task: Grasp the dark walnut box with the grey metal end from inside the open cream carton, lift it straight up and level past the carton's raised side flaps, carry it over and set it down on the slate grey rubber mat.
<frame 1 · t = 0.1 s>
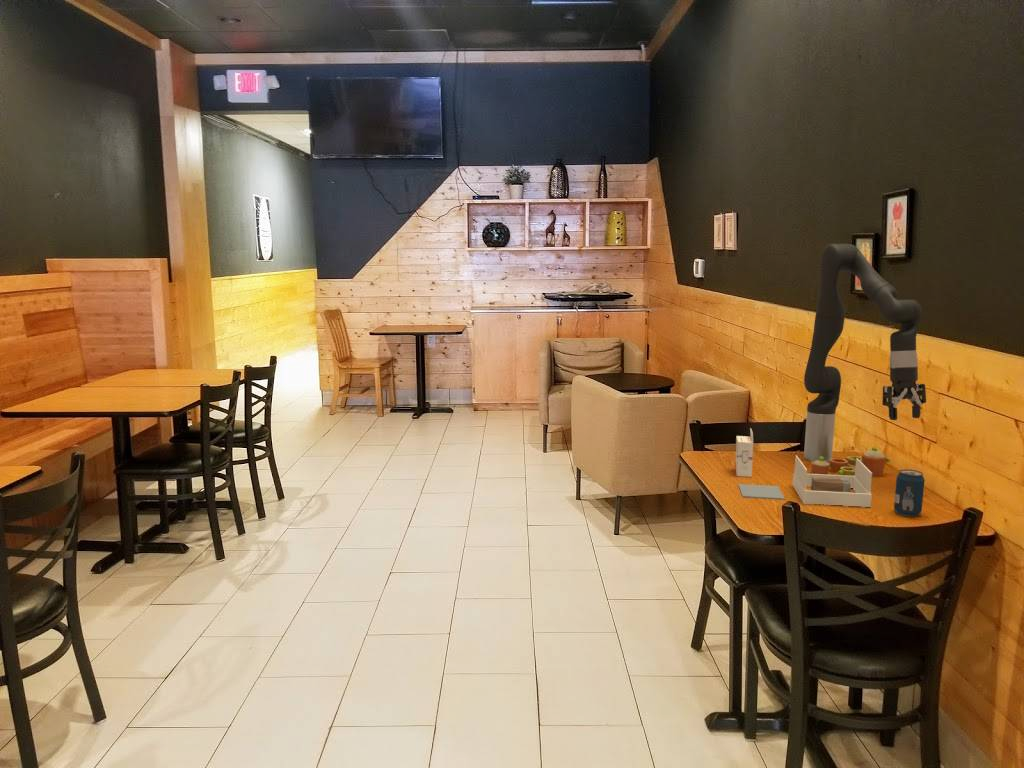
hand: (904, 418, 229), 22 cm above the table, tool pointing down, fingers open, 8 cm apart
carton: (829, 495, 226), on the table
ink cartridge box: (742, 473, 250), on the table
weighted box: (829, 496, 226), resting in carton
toy tea set: (847, 475, 249), on the table
mat: (760, 492, 230), on the table
soda can: (907, 513, 212), on the table
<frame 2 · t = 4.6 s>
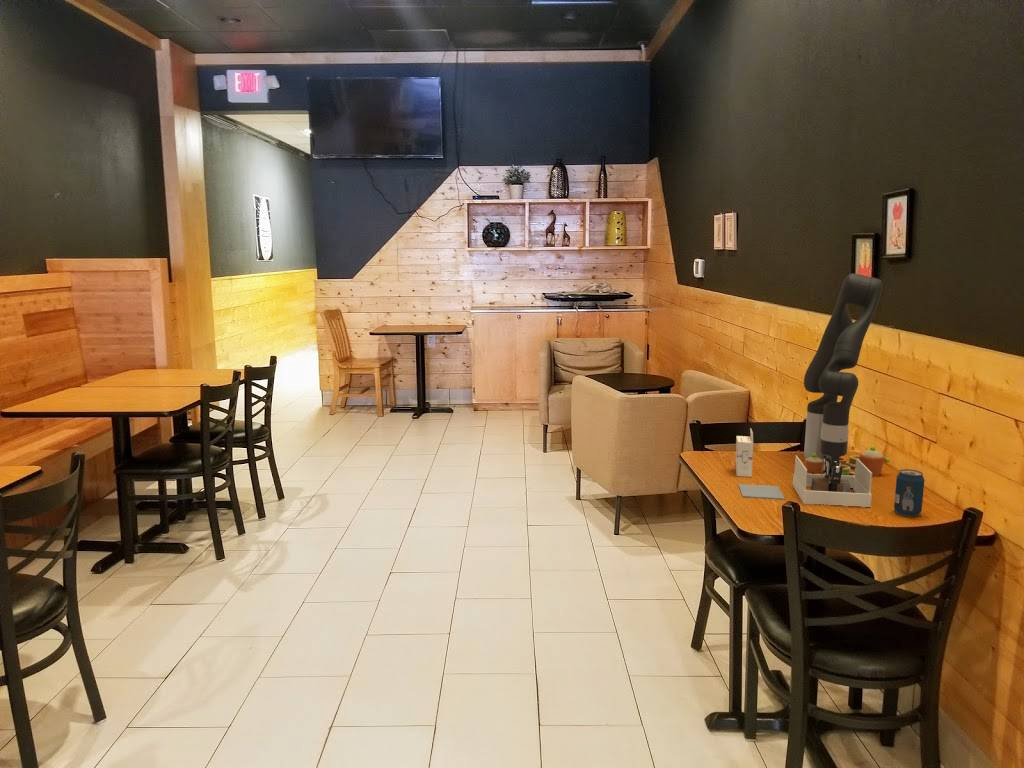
hand: (830, 492, 226), 1 cm above the table, tool pointing down, fingers closed on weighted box, 4 cm apart
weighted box: (829, 496, 226), resting in carton, touching gripper
toy tea set: (843, 473, 251), on the table
everything else where it was.
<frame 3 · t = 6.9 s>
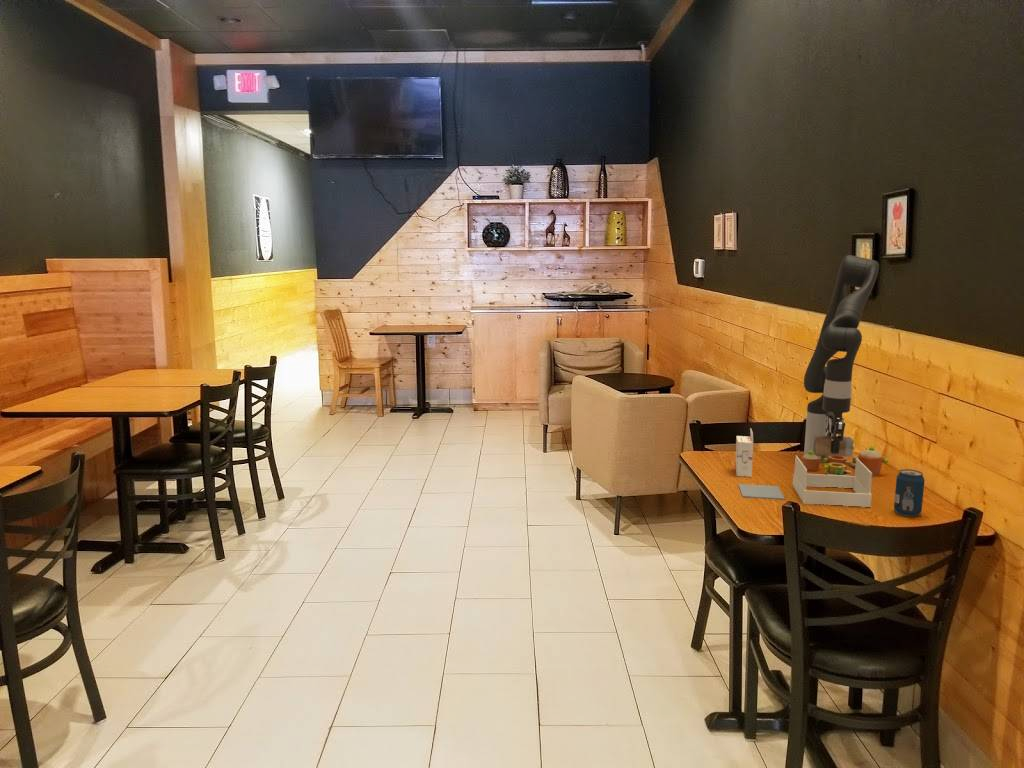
hand: (832, 450, 224), 14 cm above the table, tool pointing down, fingers closed on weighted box, 4 cm apart
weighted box: (832, 453, 224), point 13 cm above the table, touching gripper
toy tea set: (842, 472, 252), on the table
everything else where it was.
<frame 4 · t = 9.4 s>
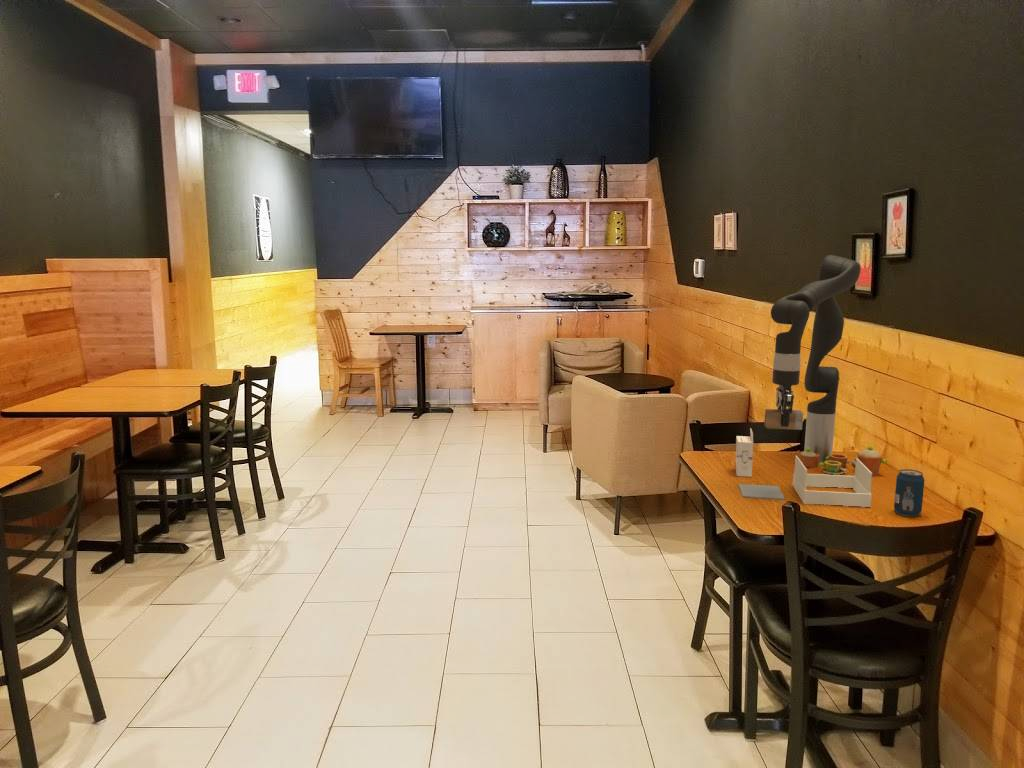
hand: (782, 424, 225), 22 cm above the table, tool pointing down, fingers closed on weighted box, 4 cm apart
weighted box: (782, 427, 225), point 21 cm above the table, touching gripper
toy tea set: (841, 471, 254), on the table
everything else where it was.
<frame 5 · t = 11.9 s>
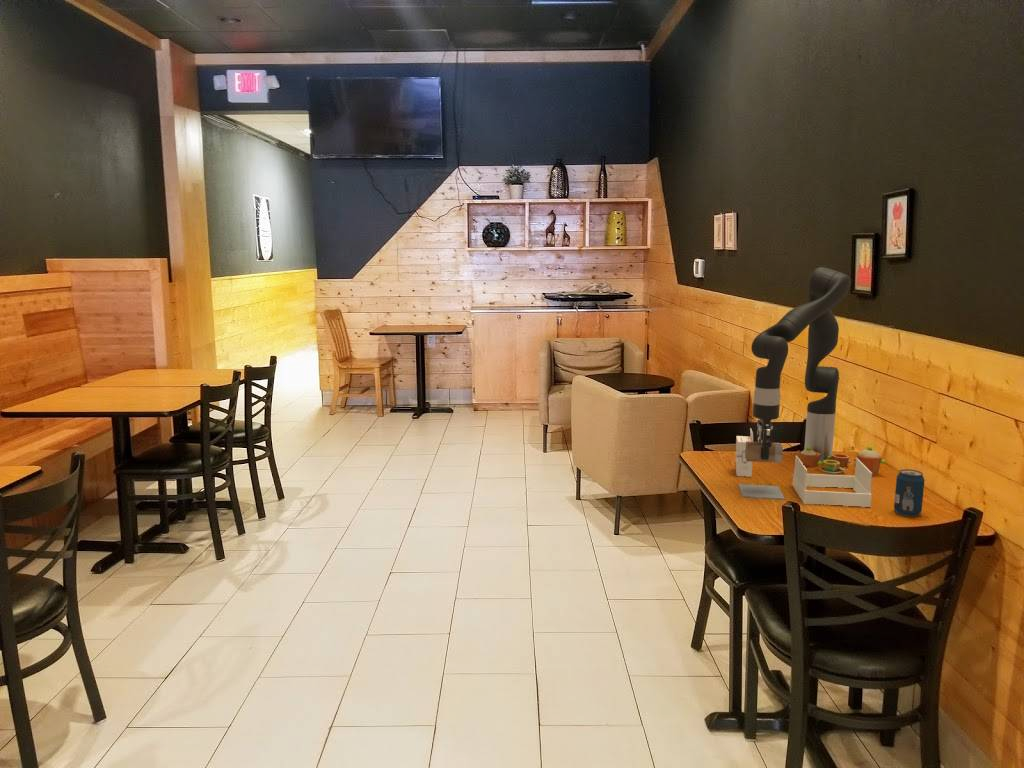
hand: (763, 456, 228), 11 cm above the table, tool pointing down, fingers closed on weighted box, 4 cm apart
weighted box: (763, 459, 228), point 10 cm above the table, touching gripper
when the fingers open (2 cm above the table, at t = 14.4 s): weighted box stays where it is, resting on mat.
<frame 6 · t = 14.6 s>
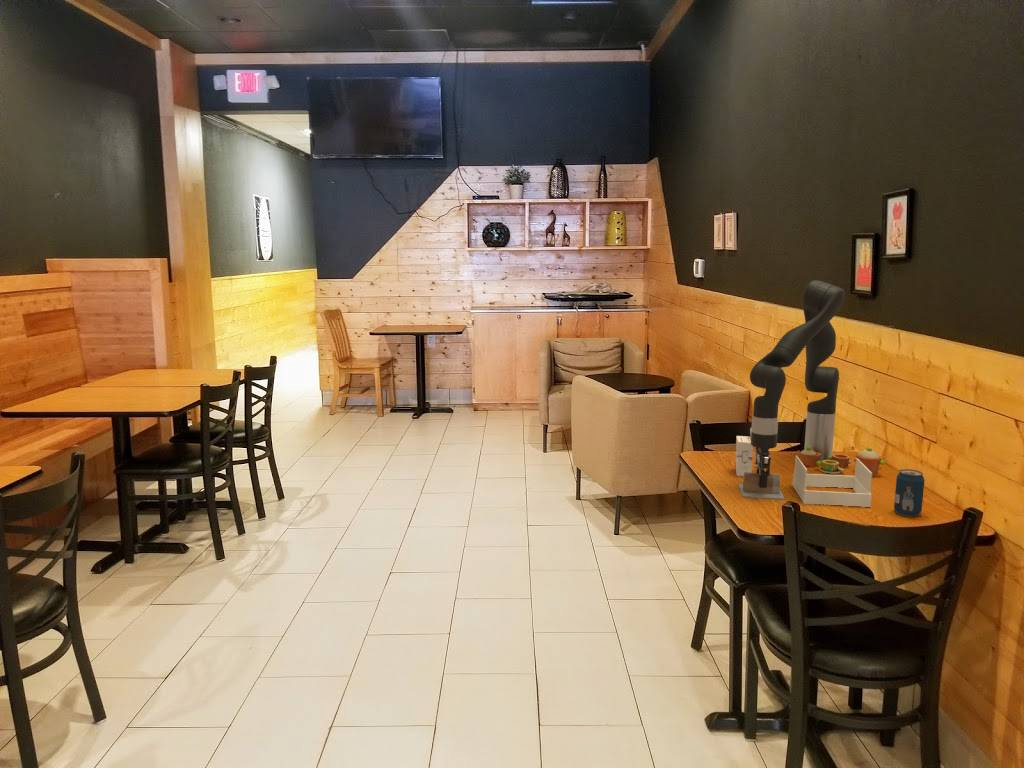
hand: (761, 484, 230), 3 cm above the table, tool pointing down, fingers open, 6 cm apart
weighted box: (760, 490, 230), resting on mat
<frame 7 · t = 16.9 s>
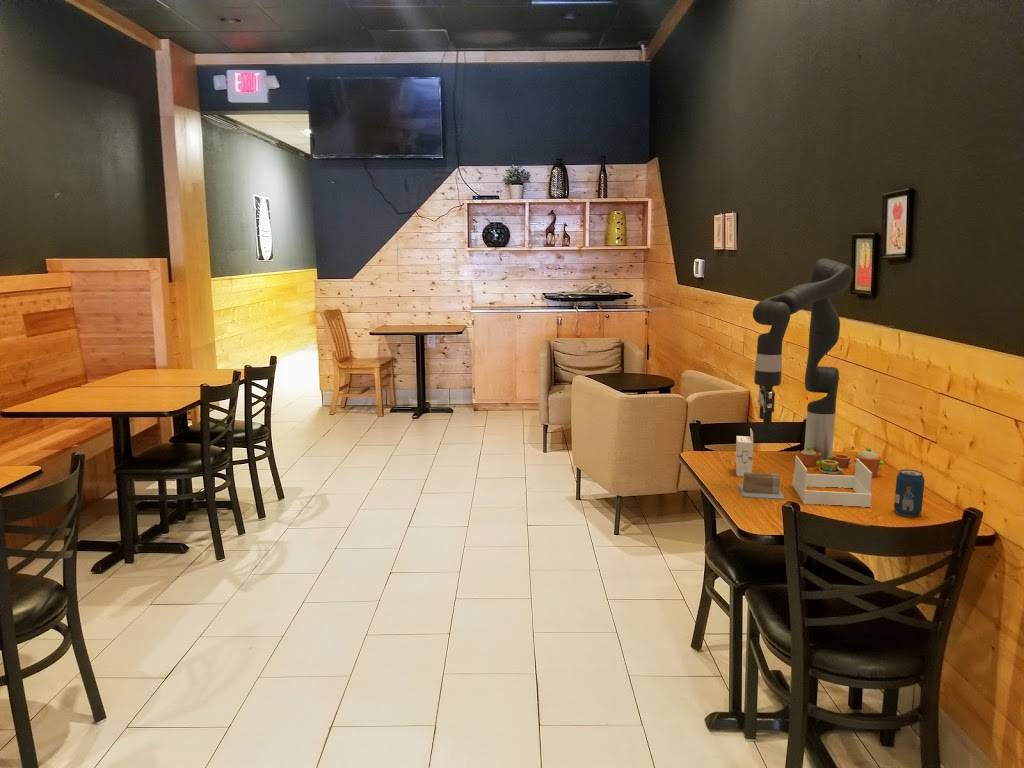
hand: (765, 421, 226), 22 cm above the table, tool pointing down, fingers open, 8 cm apart
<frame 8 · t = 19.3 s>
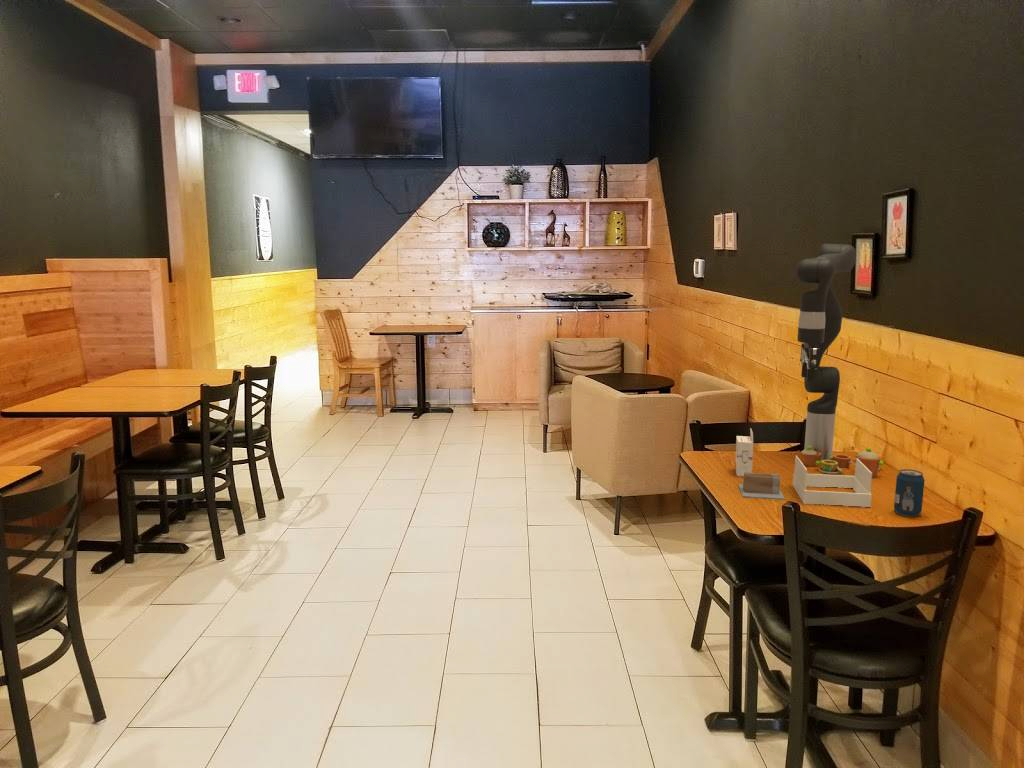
hand: (807, 379, 230), 34 cm above the table, tool pointing down, fingers open, 8 cm apart
at the end: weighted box inside the target area on the mat (0.1 cm from its centre), point 0.4 cm above the mat's base; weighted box tilted 0°; the gripper is holding nothing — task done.
